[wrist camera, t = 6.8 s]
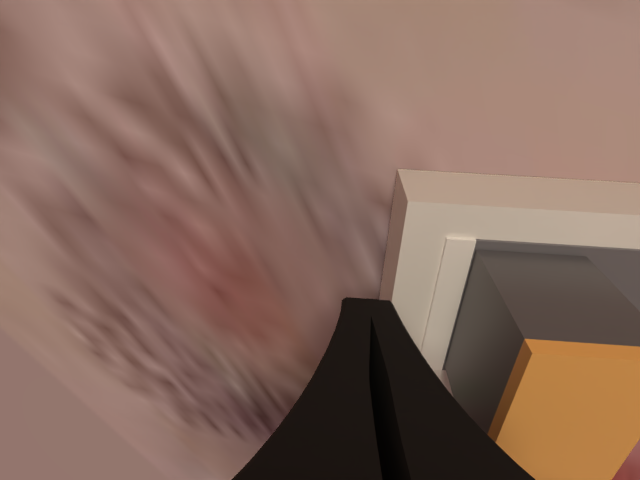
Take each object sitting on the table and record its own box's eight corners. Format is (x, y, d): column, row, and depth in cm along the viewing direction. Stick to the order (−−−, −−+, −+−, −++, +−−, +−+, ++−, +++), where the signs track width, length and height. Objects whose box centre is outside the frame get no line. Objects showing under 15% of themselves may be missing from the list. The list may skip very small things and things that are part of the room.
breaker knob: (586, 256, 11) (690, 364, 8) (536, 372, 13) (600, 495, 10) (476, 249, 11) (532, 353, 8) (444, 365, 14) (478, 485, 10)
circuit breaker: (817, 193, 13) (923, 235, 10) (690, 374, 17) (746, 434, 14) (397, 169, 13) (408, 204, 11) (371, 352, 17) (375, 406, 15)
